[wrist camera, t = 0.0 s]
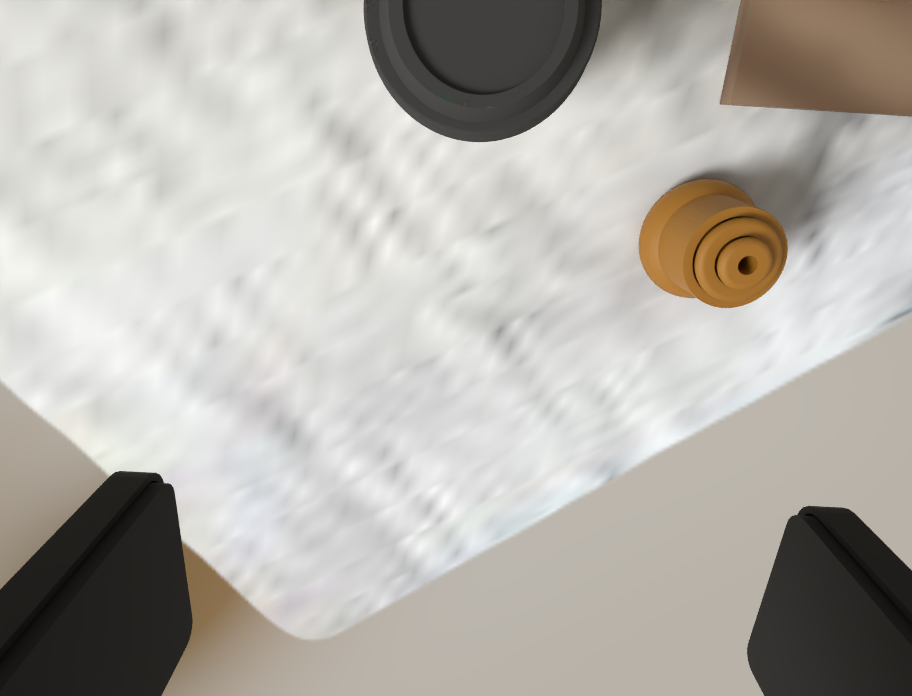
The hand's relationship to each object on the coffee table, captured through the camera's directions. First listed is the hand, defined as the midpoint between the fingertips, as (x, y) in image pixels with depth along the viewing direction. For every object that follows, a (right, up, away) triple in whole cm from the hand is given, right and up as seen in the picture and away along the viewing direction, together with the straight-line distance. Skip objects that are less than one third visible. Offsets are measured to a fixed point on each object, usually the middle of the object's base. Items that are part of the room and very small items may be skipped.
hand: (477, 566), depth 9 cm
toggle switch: (+23, +25, +24) cm, 41 cm away
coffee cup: (+1, +21, +26) cm, 33 cm away
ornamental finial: (+15, +11, +30) cm, 35 cm away
